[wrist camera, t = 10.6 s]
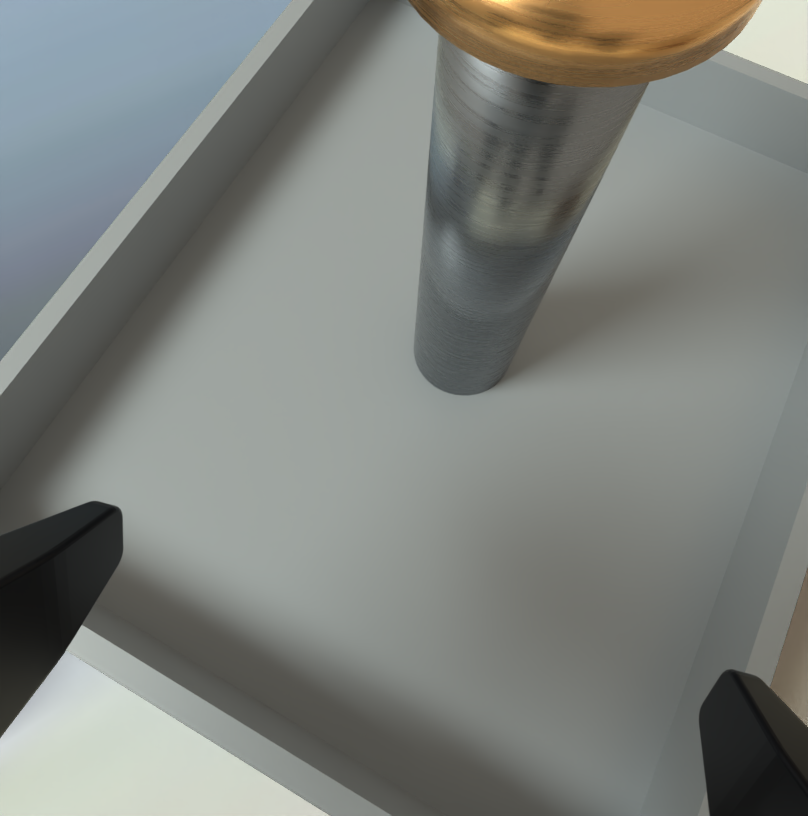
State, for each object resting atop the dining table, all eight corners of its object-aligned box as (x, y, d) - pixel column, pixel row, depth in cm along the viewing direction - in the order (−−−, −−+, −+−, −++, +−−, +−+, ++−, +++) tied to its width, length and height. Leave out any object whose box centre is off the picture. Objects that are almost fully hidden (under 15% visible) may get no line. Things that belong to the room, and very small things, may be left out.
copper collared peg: (551, 401, 18) (904, -42, 6) (408, 431, 18) (442, 29, 5) (512, 273, 19) (726, -316, 7) (377, 299, 19) (347, -276, 6)
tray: (610, 940, 14) (664, 1024, 12) (-45, 538, 17) (-133, 525, 14) (867, 201, 21) (942, 138, 18) (370, -9, 24) (367, -93, 21)
